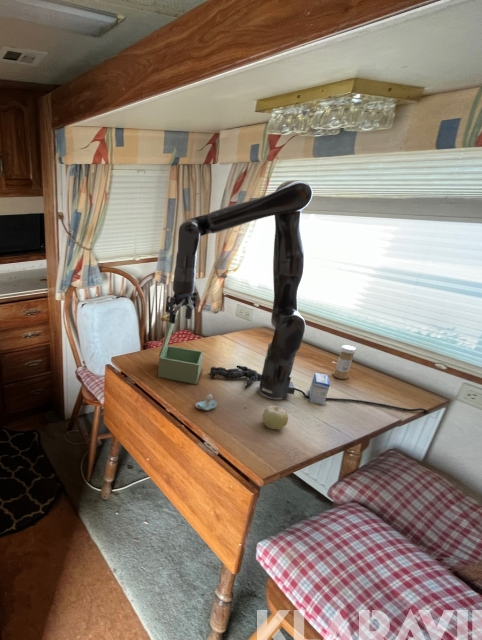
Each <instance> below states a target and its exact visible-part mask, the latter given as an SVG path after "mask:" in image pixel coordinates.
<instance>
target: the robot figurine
mask: <svg viewBox="0 0 482 640" xmlns="http://www.w3.org/2000/svg"><path fill="white" fill-rule="evenodd" d="M216 376H220V377H223V378H224V379H226V380H238V379H242V378H247V380H246V385H245V386H244V388H245V389H247V388H248V387H250V386H252V385H253V383H254V381H259V382H260V380H261V376H262V373H261V374H260V373H259V372H258V371H257V370H255V369H251V368H249V367H247V366H243V365H236V368H228V369H227V368H225V367H221V366H218V367H216V366H211V367H210V378H211V379H215V377H216Z"/></svg>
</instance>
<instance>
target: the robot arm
mask: <svg viewBox="0 0 482 640" xmlns="http://www.w3.org/2000/svg"><path fill="white" fill-rule="evenodd" d="M312 198H313V188H312V187H311V185H310V184H309V183H308V182H306V181H303V180H296V179H295V180H286V181H284V182H282V183H281V184H279V186H277V188H276V189H275V191H273V192H271V193H269V194H266V195H264V196H261V197H258V198H255V199H251V200H248V201H243V202H240V203H234V204H232V205H229V206H225V207H222V208H220V209H216V210H212V211H211V212H209V213H206V214H202V215H197V216H194V217H191V218H188V219H185V220H183V221H181V223H180V225H179V226H178V235H177V236H178V238H177V252H176V257H175V266H174V272H173V282H172V291H173V296H170V295H167V296H166V301H165V309H164V310H165V313H166V314H169V315H168V316H169V318H168V320H169V322H168V323H172V324H174V323H175V324H176V321H175V319H176V320H177V318H176V312H177V311H180V309H181V307H184V306H185V307H186V308H185V315H184V316H185V317H184V318H185V319H186V320H191V319H192V316H193V310H194V308H197V307H198V300H199V299H198V298H199V292H198V291H197V290H196V291H195V287H196V278H197V262H198V249H199V245H200V239H201V237H203V236H205V235H209V234H217V233H220V232H224V231H227V230H230V229H233V228H236V227H239V226H242V225H246V224H248V223H250V222H255V221H257V220H260V219H261V220H262V219H264V218H268V217H272V216H274V226H275V227H274V229H275V230H274V241H273V257H272V277H273V278H272V279H273V280H272V281H273V283H272V284H273V303H272V310H271V316H270V317H271V318H270V323H271V326H272V328H273V330H274V331H273V335H272V338H271V341H270V342H269V343H268V344H267V349H266V353H265V356H264V357H265V358H264V362H263V368H262V372H261V375H262V376H261V380H260V381H259V385H258V388H257V390H258V391H257V392H258V393H259V395H261V396H262V397H264V398H266V399H270V400H274V401H281V400H283V401H286V399H287V396H288V395H295V391H297V392H299V393H300V394H302V396H303V397H304V398H307V399H309V400H310V397H309V395H307V394H306V393H305V392H304V390H301V389H300V388H296V387H295V385H294V383H293V382H292V381H291V380H292V370H293V367H294V363H295V359H296V356H297V352H299V350H300V347H301V346H302V341H303V339H304V335H305V331H306V322H305V321H306V320H305V319H304V318H303V316H301V314H300V312H299V309H298V308H299V307H298V293H299V290H300V287H301V284H302V282H303V279H304V275H305V269H306V247H305V242H304V237H303V234H302V233H303V232H302V227H301V219H302V210H304V209H305V208H306V207H307V206H308V205H309V204H310V202H311V201H312ZM175 324H174V325H175ZM325 401H340V402H341V401H342V402H353V403H354V402H356V403H361V404H367V405H373V406H374V405H375V406H380V407H386V408H389V409H394V410H400V411H406V412H417V411H423V412H424V413H426V414H429V411H428V410H427V409H425V408H422V407H419V408H405V407H399V406H396V405H395V406H394V405H391V404H386V403H379V402H374V401H368V400H362V399H361V400H360V399H353V398H352V399H351V398H338V397H337V398H334V397H326V399H325Z"/></svg>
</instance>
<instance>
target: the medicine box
mask: <svg viewBox="0 0 482 640" xmlns="http://www.w3.org/2000/svg"><path fill="white" fill-rule="evenodd" d="M330 386H331V384H330V380H329V375H328V374H325V373H324V374H323V373H319V372H314V374H313V377H312V380H311V382H310V386H309V389H308V396H309V397H310V399H309V402H310V403H313V404H317V405H325V402H326V400H325V399H326V398H327V395H328V393H329V390H330Z"/></svg>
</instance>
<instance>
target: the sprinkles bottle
mask: <svg viewBox="0 0 482 640" xmlns="http://www.w3.org/2000/svg"><path fill="white" fill-rule="evenodd" d="M355 354H356V347H354V346H351V345H347V344H346V345H342V346H341V348H340V354H339V357H338V360H337V363H336V365H335V369H334V373H333V376H334V377H335V378H337V379H341V380H345V379H347V378H348V374H349V371H350V368H351V364H352V361H353V358H354V355H355Z"/></svg>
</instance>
